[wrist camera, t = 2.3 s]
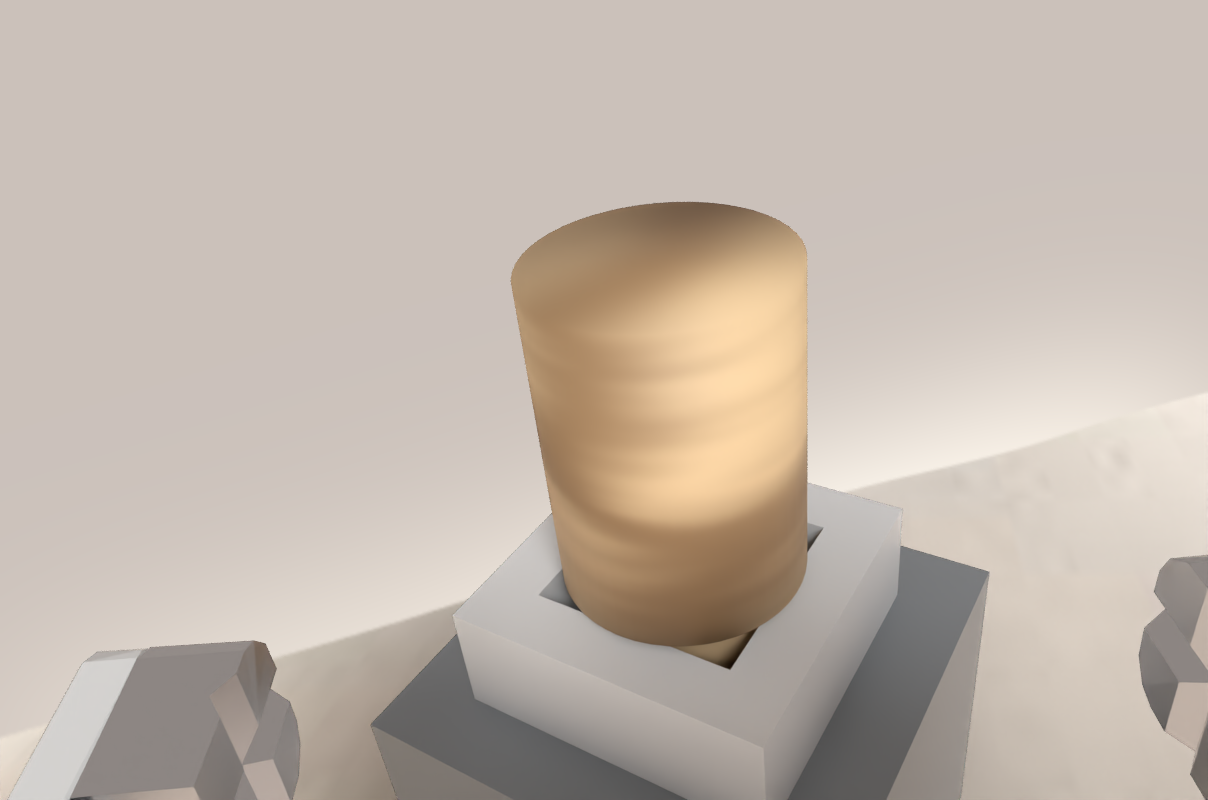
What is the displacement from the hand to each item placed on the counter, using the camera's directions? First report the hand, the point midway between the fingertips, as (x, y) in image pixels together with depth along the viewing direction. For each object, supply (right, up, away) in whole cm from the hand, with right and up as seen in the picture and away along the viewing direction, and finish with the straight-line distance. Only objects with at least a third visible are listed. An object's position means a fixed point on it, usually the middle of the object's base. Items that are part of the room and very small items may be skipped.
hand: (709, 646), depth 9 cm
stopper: (+1, -4, +17) cm, 18 cm away
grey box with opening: (+2, -12, +23) cm, 26 cm away
